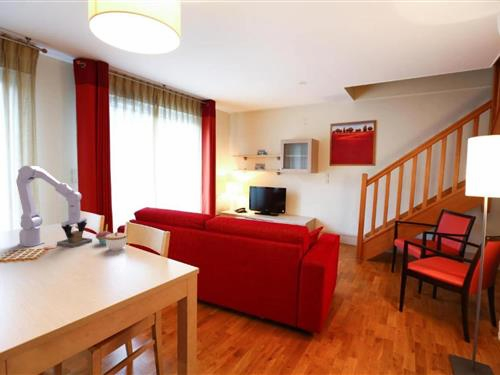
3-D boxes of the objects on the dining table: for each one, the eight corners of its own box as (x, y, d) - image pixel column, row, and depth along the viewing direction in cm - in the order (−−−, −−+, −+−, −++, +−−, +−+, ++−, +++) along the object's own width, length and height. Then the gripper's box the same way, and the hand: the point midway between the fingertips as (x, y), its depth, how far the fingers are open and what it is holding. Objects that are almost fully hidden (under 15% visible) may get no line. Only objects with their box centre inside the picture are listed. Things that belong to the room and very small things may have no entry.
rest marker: (40, 248, 143) (40, 248, 143) (51, 245, 149) (51, 245, 149) (48, 250, 142) (48, 249, 142) (59, 246, 148) (59, 246, 148)
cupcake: (115, 241, 160) (115, 222, 159) (106, 245, 152) (106, 225, 151) (102, 240, 161) (101, 221, 160) (92, 245, 153) (92, 224, 152)
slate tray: (57, 244, 151) (56, 241, 151) (76, 239, 162) (76, 236, 162) (73, 247, 147) (73, 244, 147) (92, 241, 159) (91, 238, 159)
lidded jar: (118, 253, 141) (118, 235, 140) (100, 251, 143) (100, 233, 142) (131, 247, 151) (131, 230, 150) (114, 245, 153) (114, 229, 153)
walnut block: (67, 242, 153) (67, 232, 153) (75, 240, 158) (75, 230, 157) (74, 243, 152) (74, 233, 151) (82, 241, 156) (82, 231, 156)
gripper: (68, 215, 145) (68, 240, 146) (90, 211, 159) (91, 233, 160) (58, 214, 147) (58, 238, 148) (81, 210, 161) (81, 232, 162)
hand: (74, 236), depth 155 cm, fingers open, 7 cm apart
